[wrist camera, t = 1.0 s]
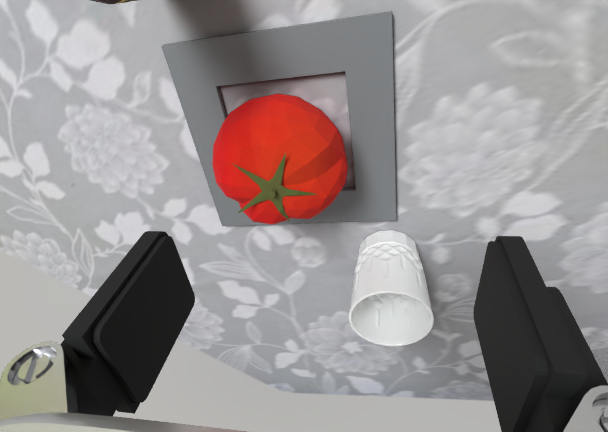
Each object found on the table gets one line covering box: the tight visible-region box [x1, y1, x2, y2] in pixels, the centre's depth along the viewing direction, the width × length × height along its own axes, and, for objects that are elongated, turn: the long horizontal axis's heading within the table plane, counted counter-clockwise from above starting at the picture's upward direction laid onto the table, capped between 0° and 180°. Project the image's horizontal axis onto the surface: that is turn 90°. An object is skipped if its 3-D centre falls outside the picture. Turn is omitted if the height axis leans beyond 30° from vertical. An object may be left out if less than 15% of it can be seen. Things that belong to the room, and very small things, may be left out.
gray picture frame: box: [162, 11, 396, 226], centre depth 38 cm, size 20×20×1 cm
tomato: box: [212, 94, 348, 224], centre depth 34 cm, size 12×12×10 cm
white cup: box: [349, 230, 434, 346], centre depth 40 cm, size 8×8×10 cm
